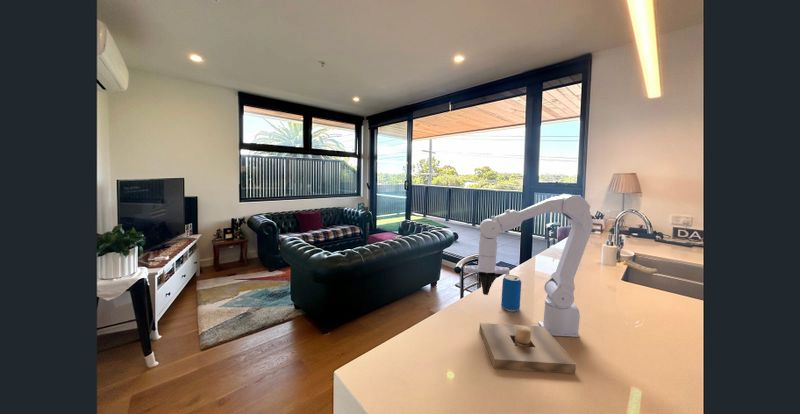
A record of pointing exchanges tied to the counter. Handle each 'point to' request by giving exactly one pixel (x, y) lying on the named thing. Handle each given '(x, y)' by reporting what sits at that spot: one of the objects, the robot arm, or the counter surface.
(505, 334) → the hole board
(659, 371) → the counter surface
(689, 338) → the counter surface
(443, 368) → the counter surface
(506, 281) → the beverage can
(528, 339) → the oak peg
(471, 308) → the counter surface
